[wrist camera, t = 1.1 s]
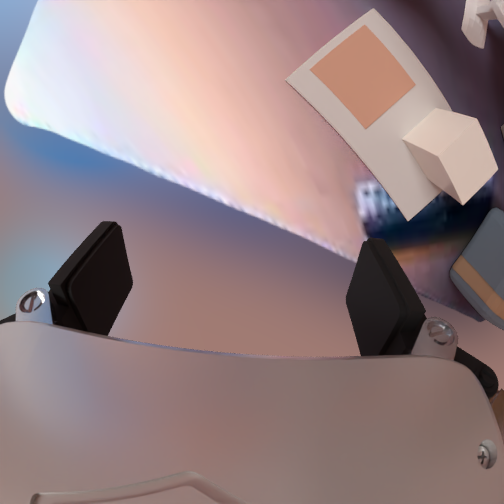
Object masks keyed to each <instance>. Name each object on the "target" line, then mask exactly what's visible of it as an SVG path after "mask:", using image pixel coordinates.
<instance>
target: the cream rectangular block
mask: <svg viewBox="0 0 504 504" xmlns="http://www.w3.org/2000/svg"><path fill="white" fill-rule="evenodd" d="M402 140H403V141H404V143H405V144H406V146H407V147H408V149H409V150H410V152H411V153H412V155H413V156H414V158H415V159H416V161H417V162H418V164H419V165H420V167H421V169H422V170H423V172H424V174H425V175H426V177H427V179H428V180H430V181H431V182H433V183H434V184H435V185H437V186H438V187H440V188H441V189H442V190H444V191H445V192H446V193H448V194H449V195H450V196H452V197H453V198H454V199H456V200H457V201H458V202H459V203H461V204H462V205H464V204H465V203H466V202H467V201H468V200H469V199H470V198H471V197H472V196H473V195H474V194H475V193H476V192H477V191H478V190H479V189H480V188H481V187H482V186H483V185H484V184H485V183H486V182H487V181H488V180H489V179H490V178H491V176H492V175H493V174H494V173H495V172H496V171H497V170H498V167H497V165H496V162H495V159H494V157H493V154H492V152H491V149H490V147H489V144H488V142H487V139H486V137H485V135H484V133H483V130H482V128H481V126H480V124H479V122H478V120H477V119H476V118H473V117H469V116H466V115H462V114H459V113H455V112H451V111H447V110H443V109H438V108H435V109H434V110H433V111H432V112H431V113H430V114H429V115H428V116H427V117H425V118H424V119H423V120H422V121H421V122H420V123H419V124H418V125H417V126H416V127H414V128H413V129H412V130H411V131H410V132H409V133H408V134H407V135H406V136H405V137H403V138H402Z"/></svg>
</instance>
